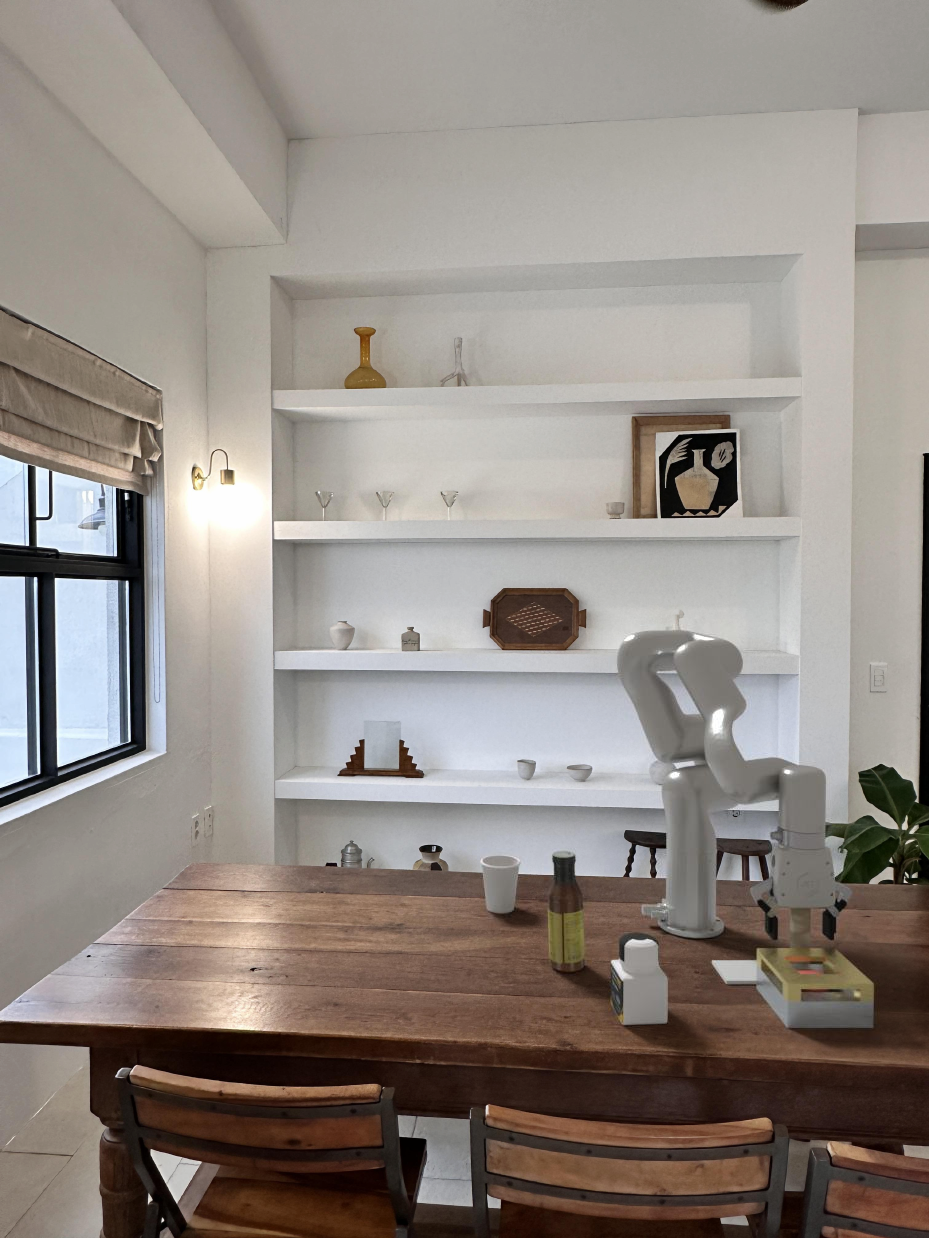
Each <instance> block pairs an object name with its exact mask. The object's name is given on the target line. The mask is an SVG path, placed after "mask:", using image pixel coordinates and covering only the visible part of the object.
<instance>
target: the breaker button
mask: <svg viewBox="0 0 929 1238" xmlns="http://www.w3.org/2000/svg"><path fill="white" fill-rule="evenodd" d="M797 971H798V972H799V973H800V974H825V973H823V972H821V971H817V970H813V969H800V970H797ZM801 992H829V989H801Z"/></svg>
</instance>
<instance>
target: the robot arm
mask: <svg viewBox="0 0 929 1238" xmlns="http://www.w3.org/2000/svg"><path fill="white" fill-rule="evenodd" d="M743 664H744V661H743V657H742V653H741V651H740V650H739V649H738V647H737V646H736V645H735V644H734V643H732V642H730V641H729V640H727V639H724V638H719V637H715V636H710V635H707V634H703V633H699V632H694V631H692V630H681V629H678V630H677V629H676V630H675V629H672V630H669V629H668V630H642V631H638V632H635V633H632V634H630V635H628V636H627V637H626V638H624V640H623V641H622V642H621V644H620V646H619V648H618V651H617V658H616V666H617V669H616V670H617V674H618V676H619V677H618V678H619V680H620V682H621V684H622V686H623V688H624V689H625V692H626V693H627V695H628V697H629V699H630V701H631V703H632V705H633V707H634V709H635V711H636V714H637V717H638V719H639V722H640V725H641V726H642V730H643V731H644V734H645V737H646V739H647V742H648V744H649V747H650V749H651V751H652V753H653V755H654V757H655V758H656V759H657V760H658V761H659V762H660V763H661V762H662V763H664V764H680V763H686V762H693V763H694V764H693V765H688V766H687V765H686V766H683V767H679V768H676V769H674V770H672V771H671V772H669V773H668V774H667V775H666V776H665V778H664V780H663V782H662V785H661V798H662V804H663V809H664V816H665V825H666V826H665V829H666V830H665V831H666V833H665V835H666V841H665V842H666V844H665V845H666V846H665V847H666V850H665V851H666V855H665V856H666V860H665V861H666V868H665V869H666V872H665V876H666V877H665V881H666V882H665V898H661V903H660V902H658V903H657V904H641V913H642V915H644V916H645V915H646V916H647V915H649V916H650V917H651V919H657V924H658V926H659V927H660V928H661V929H662V930H664V931H665V932H667V933H669V934H671V935H675V936H678V937H683V938H691V939H707V938H708V939H709V938H715V937H717V936H720V935H721V934H722V933H723V932H724V930H725V923H724V922H723V920H722V919H721V918H720V917H719V916H717V915H716V914H717V911H716V910H717V905H716V904H717V835H716V831H715V829H714V826H713V823H712V822H711V819H710V816H709V814H712V813H718V812H722V811H727V810H731V809H733V808H736V807H738V805H744V806H745V805H754V804H759V803H765V802H773V801H778V823H777V824H778V826H776V830H775V831H770V833H769V836H770V840H771V841H772V840H775V841H776V843H774V846H773V850H772V853H771V859H770V865H769V875H768V878H767V879H765V880H763V881H760V882H759V883H757V884H756V885H753V886H752V887H750V888H749V893H750V894H751V896H752V898H753V900H754V902H755V904H756V905H757V906H758V907H759V908H760V909H761V910H762V911H763V912H764V931H765V933H766V934H767V936H769V938H771V940H772V941H777V940H779V917H777V916H776V915H777V913H778V912H779V911H780V910H781V909H782V908H783V909H791V908H798V909H812V910H813V909H825V910H823V912H822V916H821V917H822V918H821V920H822V922H821V924H822V926H821V928H822V929H821V932H822V934H823V936H825V937H826V938H827V940H829V941H834V940H835V934H836V933H837V918H838V917H840V913H841V912H842V911H843V910H844V909H846V907H847V906H848V902H849V900H850V898H851V897H852V895H853V891H852V889H851V888H850V887H847V886H846V885H844V884H841V883H840V882H838V881H836V879H835V869H834V861H833V855H832V853H831V852H832V850H831V848H830V847H828V846H826V809H827V808H826V807H827V806H826V803H827V795H826V794H827V778H826V774H825V772H824V771H823V770H822V769H821V768H818V767H816V766H811V765H802V764H796V763H794V762H791V761H789V760H787V759H783V758H782V757H771V756H770V757H762V758H755V759H748V760H747V759H746V760H745V758H744V757H743V755H742V753H741V752H740V750H739V748H738V747H737V746H738V745H737V744H736V742H735V741H736V740H735V739H734V735H733V734H734V733H733V725H734V722H735V721H736V720H737V719H739V718H740V717H741V716H742V715H743V714H744V712H746V711H745V710H746V709H747V701H746V699H745V696H744V695H743V694H742V692H741V690H740V689H739V688H738V686H737V684H736V682H735V681H734V680H735V679H737V678H738V677H739V676H740V674H742V670H743ZM671 671H675V672H676V673H677V676H678V677H679V679H680V681H681V682H682V684H683V686H684V688H685V690H686V691H687V693H688V694H689V697H690V698H691V700H692V702H693V703H694V705H695V707H696V709H697V711H698V713H689V714H686V713H684V711H682V709H681V706H680V704H679V702H678V700H677V698H676V695H675V693H674V691H673V690H672V689H671V687H670V686H669V685H668V684H667V682H665V681H664V680H663V679H662V678H661V677H660V676H659V675H658V672H671ZM767 891H768V895H769V898H768V899H767V901H766V902H765V900H764V898H763V896H762V895H763V894H764V893H766V892H767ZM836 891H837V892H839V895H838V897H836V895H837V894H836V893H837V892H836Z"/></svg>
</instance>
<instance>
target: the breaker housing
mask: <svg viewBox="0 0 929 1238" xmlns="http://www.w3.org/2000/svg"><path fill="white" fill-rule="evenodd" d="M756 960H757V977H756V984H755V985H756V987H755V988H756V991H758V992H759V994H760V995H761V996H762V997H763V999H764V1000H765V1001H766V1002H767V1004H768V1005H769V1007H770V1008H771V1009H772V1010H773V1011H774V1013H775V1014H776V1015H777V1017H778V1018H779V1020H781V1022H782V1023H783V1025H784V1026H785V1027H786V1028H787V1029H793V1028H794V1029H829V1028H830V1029H838V1028H839V1029H852V1028H853V1029H857V1028H858V1029H863V1028H864V1029H871V1028H872V1029H873V1028H874V1012H875V1011H874V1010H875V1009H874V1005H875V1004H874V1001H875V1000H874V999H875V998H874V996H875V994H874V993H875V984H874V982H872V980H871V979H870V978H868V977H867V976H866V975H865V974H864V973H863V972H862V971H860V970H859V969H858V968H857V967H856V966H855V965H854V963H852V962H851V961H850V960H848V959H847V958H846V956H844V955H843V954H842V953H841V952H840V951H839V950H837V949H836V948H835V947H827V948H826V947H818V948H817V947H815V948H814V947H810V948H790V947H789V948H788V947H786V948H785V947H770V948H769V947H767V948H766V947H761V948H760V947H758V948H756ZM790 961H810V962H822V963H821V964H819V963H818V964H817V963H815V964H814V963H813V964H812V963H810V964H791V963H790ZM800 969H813V970H817V971H821V972H823V973H825V974H800V973H799V972H798V971H797V970H800ZM801 989H829V992H801Z"/></svg>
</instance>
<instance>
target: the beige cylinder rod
mask: <svg viewBox="0 0 929 1238" xmlns="http://www.w3.org/2000/svg"><path fill="white" fill-rule="evenodd" d="M811 912H812V911H811V909H798V908H790V918H789V919H790V920H789V921H790V922H789V927H790V928H789V929H790V931H789V932H790V933H789V935H790V937H789V948H811V914H812V913H811ZM789 962H790V963H791V964H811V961H789Z"/></svg>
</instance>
